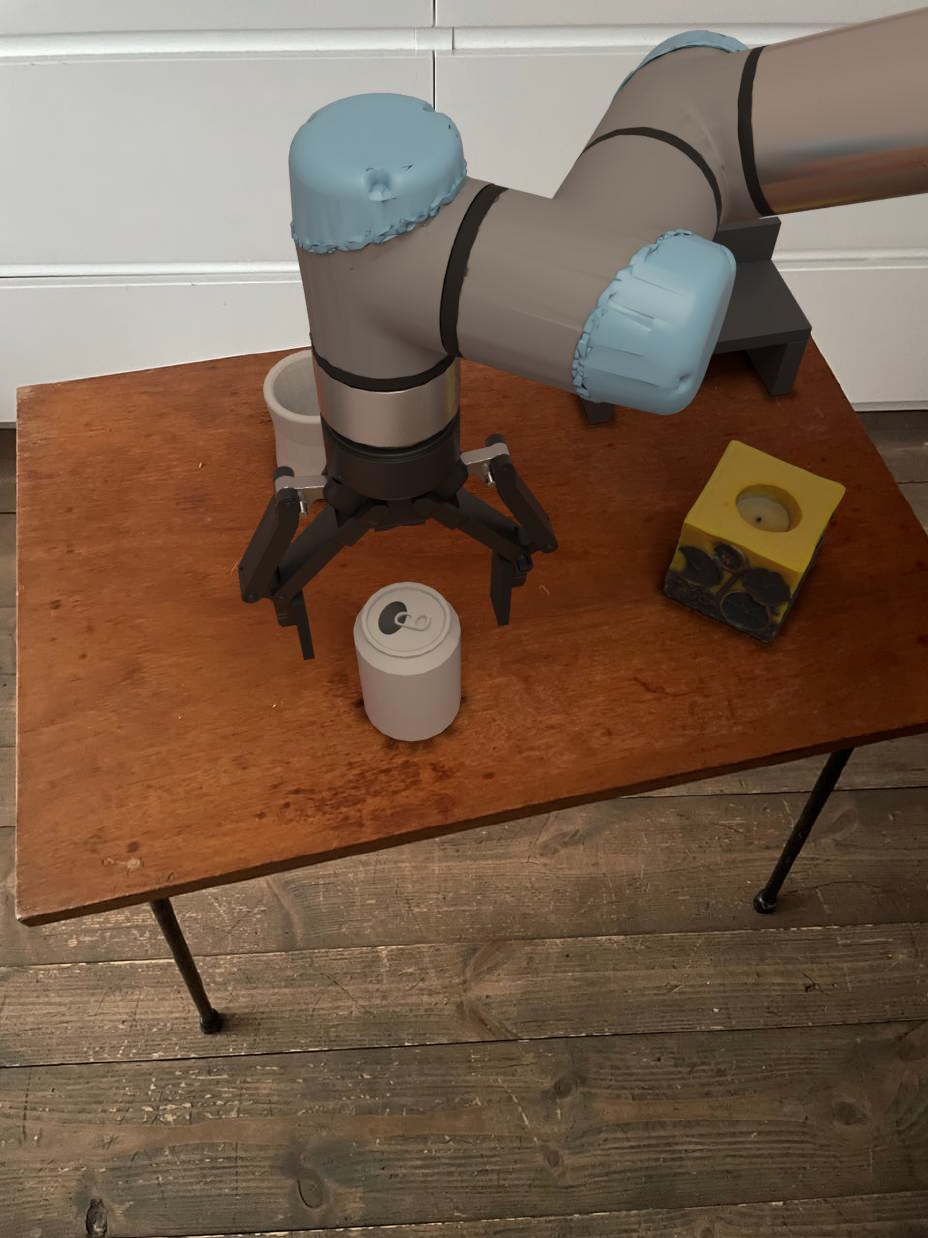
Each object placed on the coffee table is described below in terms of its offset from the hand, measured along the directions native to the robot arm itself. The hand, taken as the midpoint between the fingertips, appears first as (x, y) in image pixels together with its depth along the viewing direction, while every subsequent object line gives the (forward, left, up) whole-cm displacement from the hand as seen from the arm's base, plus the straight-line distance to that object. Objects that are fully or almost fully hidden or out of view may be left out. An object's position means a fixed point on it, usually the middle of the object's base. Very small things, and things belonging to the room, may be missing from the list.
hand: (404, 626), depth 74 cm
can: (0, 0, -11) cm, 11 cm away
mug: (+17, -22, -11) cm, 30 cm away
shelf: (-10, -44, -11) cm, 46 cm away
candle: (-21, -21, -11) cm, 32 cm away
